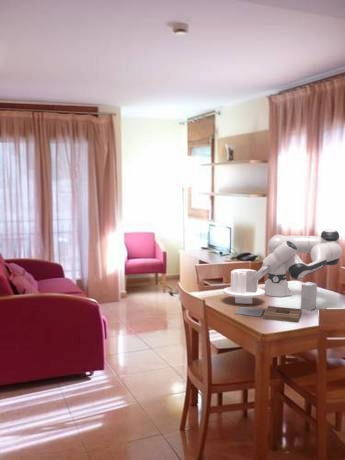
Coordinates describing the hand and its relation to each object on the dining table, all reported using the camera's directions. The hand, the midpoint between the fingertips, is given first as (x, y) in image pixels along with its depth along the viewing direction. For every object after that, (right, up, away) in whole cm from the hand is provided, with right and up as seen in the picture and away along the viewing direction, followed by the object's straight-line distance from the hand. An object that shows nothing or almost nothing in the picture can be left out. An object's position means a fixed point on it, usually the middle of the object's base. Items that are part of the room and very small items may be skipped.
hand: (252, 280), depth 241 cm
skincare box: (+34, -17, +10) cm, 40 cm away
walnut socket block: (+15, -19, -5) cm, 25 cm away
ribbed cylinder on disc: (0, -16, +26) cm, 30 cm away
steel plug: (0, -6, +1) cm, 6 cm away
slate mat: (-1, -18, +2) cm, 18 cm away
